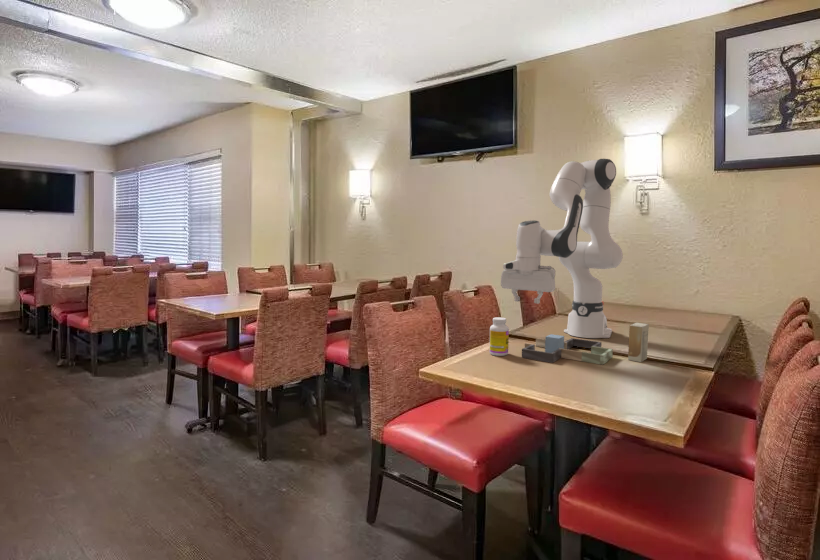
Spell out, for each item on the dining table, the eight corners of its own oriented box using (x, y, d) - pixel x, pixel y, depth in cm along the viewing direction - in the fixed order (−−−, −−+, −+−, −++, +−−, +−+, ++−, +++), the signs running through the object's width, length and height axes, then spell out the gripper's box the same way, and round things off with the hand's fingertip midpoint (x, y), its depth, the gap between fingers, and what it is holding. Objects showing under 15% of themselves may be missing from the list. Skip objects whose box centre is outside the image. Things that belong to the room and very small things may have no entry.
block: (550, 350, 177) (550, 334, 176) (563, 352, 174) (564, 336, 173) (545, 353, 173) (545, 336, 172) (558, 355, 170) (559, 338, 169)
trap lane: (544, 341, 189) (545, 334, 189) (618, 352, 173) (618, 344, 172) (514, 356, 168) (515, 347, 168) (595, 370, 151) (596, 361, 151)
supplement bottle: (508, 356, 167) (509, 320, 166) (489, 355, 169) (489, 319, 167) (508, 352, 174) (509, 317, 172) (489, 351, 175) (490, 316, 174)
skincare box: (634, 356, 168) (636, 322, 166) (647, 359, 164) (649, 323, 163) (627, 360, 163) (628, 324, 162) (640, 362, 160) (642, 326, 159)
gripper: (558, 265, 173) (557, 303, 174) (506, 263, 185) (505, 298, 187) (552, 266, 168) (550, 306, 169) (499, 264, 180) (498, 300, 182)
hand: (526, 302), depth 178 cm, fingers open, 6 cm apart
